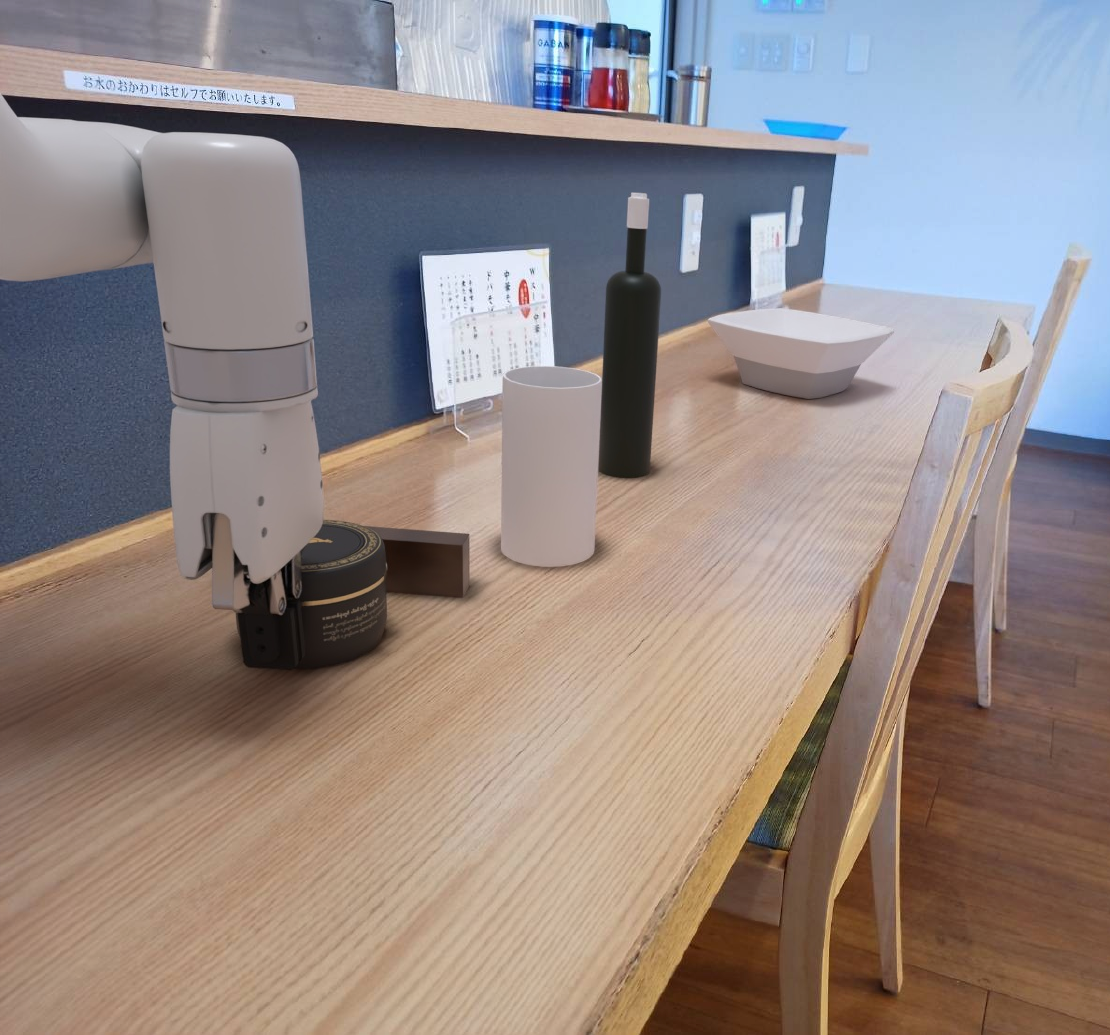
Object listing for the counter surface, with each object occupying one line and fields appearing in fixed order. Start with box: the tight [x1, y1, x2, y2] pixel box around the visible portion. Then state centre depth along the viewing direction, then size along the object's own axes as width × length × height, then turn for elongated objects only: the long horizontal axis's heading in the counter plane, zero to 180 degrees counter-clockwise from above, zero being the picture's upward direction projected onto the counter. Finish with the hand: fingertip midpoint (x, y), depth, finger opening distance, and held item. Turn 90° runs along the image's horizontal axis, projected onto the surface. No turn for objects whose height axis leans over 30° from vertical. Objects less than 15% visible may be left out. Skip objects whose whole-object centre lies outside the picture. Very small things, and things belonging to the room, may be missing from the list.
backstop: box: [364, 525, 471, 599], centre depth 77 cm, size 18×2×5 cm, turn 89°
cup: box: [500, 365, 602, 568], centre depth 85 cm, size 8×8×16 cm
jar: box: [235, 519, 388, 670], centre depth 68 cm, size 10×10×8 cm
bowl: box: [707, 307, 895, 400], centre depth 157 cm, size 24×25×10 cm
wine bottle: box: [598, 191, 662, 479], centre depth 105 cm, size 6×6×30 cm
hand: (275, 661), depth 61 cm, fingers closed
